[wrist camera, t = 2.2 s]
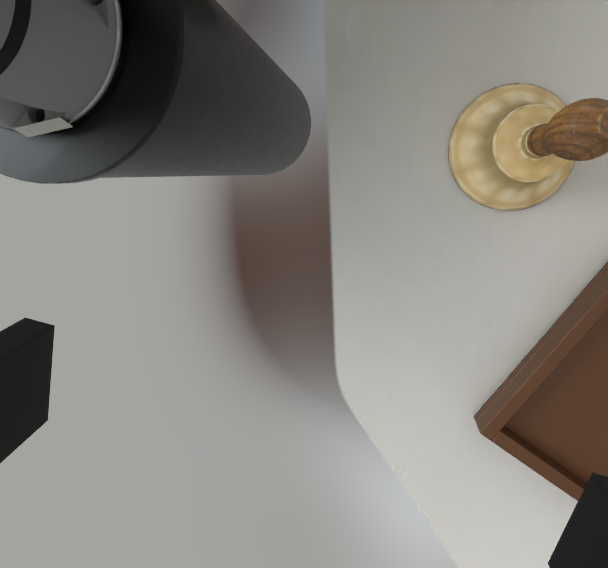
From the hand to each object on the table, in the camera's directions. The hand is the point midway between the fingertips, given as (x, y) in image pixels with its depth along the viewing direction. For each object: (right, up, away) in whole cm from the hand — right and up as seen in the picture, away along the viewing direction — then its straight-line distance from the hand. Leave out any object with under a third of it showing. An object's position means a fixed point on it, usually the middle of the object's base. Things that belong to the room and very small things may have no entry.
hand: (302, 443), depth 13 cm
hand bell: (+14, +13, +23) cm, 30 cm away
